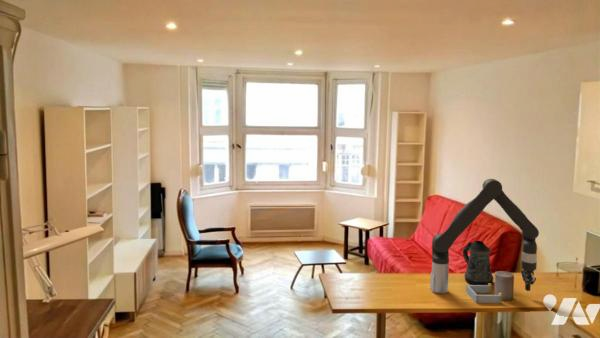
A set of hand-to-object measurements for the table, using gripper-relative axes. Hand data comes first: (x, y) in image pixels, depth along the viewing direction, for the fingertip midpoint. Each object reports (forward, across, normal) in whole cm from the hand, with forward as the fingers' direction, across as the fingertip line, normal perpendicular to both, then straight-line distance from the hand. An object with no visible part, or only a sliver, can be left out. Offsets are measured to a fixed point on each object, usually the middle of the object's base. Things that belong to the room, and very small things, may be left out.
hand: (527, 290), depth 247 cm
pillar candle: (+4, 0, -13) cm, 14 cm away
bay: (+4, 0, -24) cm, 25 cm away
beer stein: (+4, -25, -19) cm, 32 cm away
